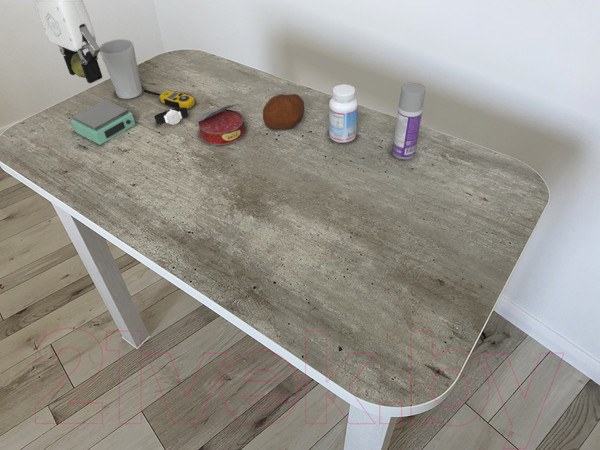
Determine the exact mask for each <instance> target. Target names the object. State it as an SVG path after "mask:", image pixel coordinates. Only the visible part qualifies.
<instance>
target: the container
mask: <svg viewBox="0 0 600 450" xmlns="http://www.w3.org/2000/svg"><path fill="white" fill-rule="evenodd" d="M425 95H426V86H425V85H424V84H423V83H420V82H416V81H408V82H405V83H403V84H402V85H401V89H400V94H399V100H398V107H397V114H396V122H395V127H394V135H393V142H392V150H391V153H392V155H393V156H394V157H395V158H397V159H399V160H410V159H412V158H414V156H415V155H416V148H417V143H418V137H419V132H420V126H421V121H422V115H423V110H424V109H423V108H424V102H425Z"/></svg>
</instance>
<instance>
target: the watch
mask: <svg viewBox="0 0 600 450" xmlns="http://www.w3.org/2000/svg"><path fill="white" fill-rule="evenodd" d="M188 116H189V112H188V109H187V108H169V109H168V110H165V111H161V112H159V113H157V114H155V115H154V121H155V123H156V124H157V125H162V124H170V125H177V124H179V122H180V121H181V120H182V119H184V118H186V117H188Z"/></svg>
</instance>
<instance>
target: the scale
mask: <svg viewBox="0 0 600 450" xmlns="http://www.w3.org/2000/svg"><path fill="white" fill-rule="evenodd" d="M128 112H129V113H127V114H125V115H123V116H122V117H120V118H118V119H116V120H114V121H113V122H111V123H109V124H107V125H105V126H104V127H102V128H100V129H98V130H96V131H95V130H93V129H91V128H89V127H87V126H85V125H83V124H81V123H79V122H77V121H75V120H74V119H72V120H71V121H70V123H71V124H72V125H71V126H72V127H73V130H74V132H75V133H77V134H78V135H80V136H82V137H84V138H86V139H88V140H89V141H91V142H94V143H95V144H97V145H99V146H101V145H102V144H104V143H106V142H108V141H109V140H111V139H113V138H115V137H116V136H118V135H120V134H122V133H123V132H124V131H126V130H128V129H130V128H132V127H133V126H136V122H135V118H134V115H133V112H130V111H128Z"/></svg>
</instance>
